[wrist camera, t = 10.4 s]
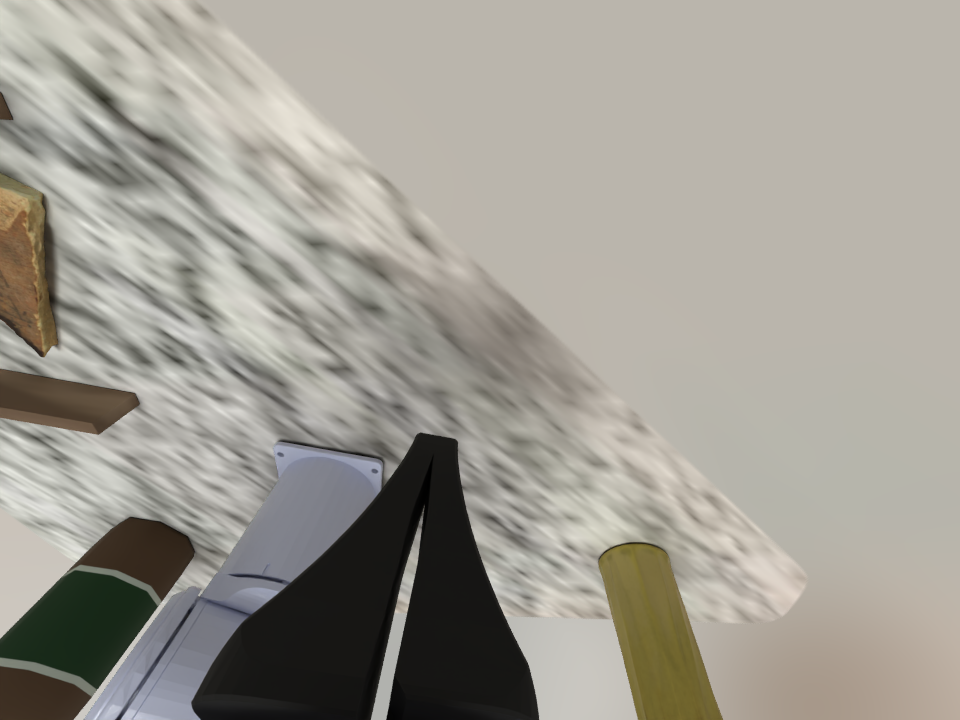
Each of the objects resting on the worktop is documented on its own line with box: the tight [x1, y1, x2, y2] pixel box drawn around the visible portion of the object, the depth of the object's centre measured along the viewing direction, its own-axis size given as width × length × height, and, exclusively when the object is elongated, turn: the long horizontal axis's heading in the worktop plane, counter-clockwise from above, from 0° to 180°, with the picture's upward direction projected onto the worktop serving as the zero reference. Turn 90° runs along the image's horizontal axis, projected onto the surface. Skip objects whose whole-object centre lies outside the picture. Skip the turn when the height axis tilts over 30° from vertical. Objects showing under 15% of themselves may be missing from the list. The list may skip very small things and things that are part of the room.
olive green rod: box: [599, 544, 723, 720], centre depth 26 cm, size 6×6×14 cm
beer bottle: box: [0, 518, 194, 720], centre depth 25 cm, size 8×8×24 cm
